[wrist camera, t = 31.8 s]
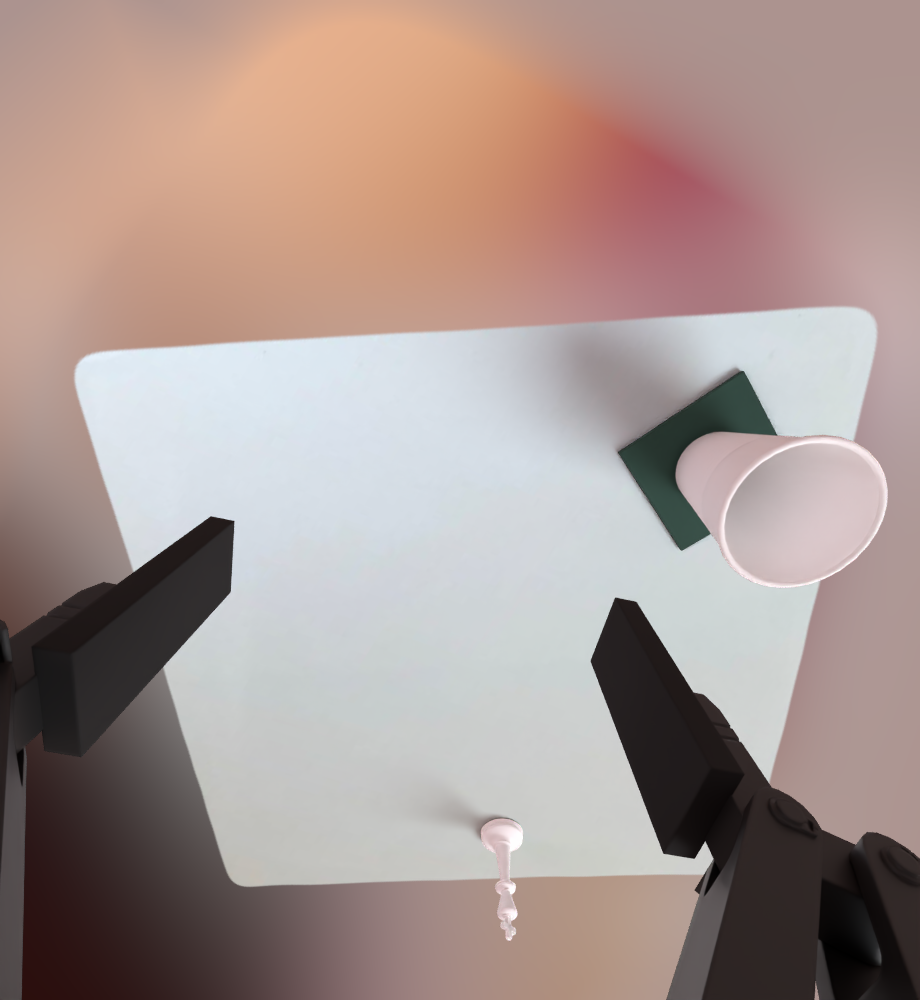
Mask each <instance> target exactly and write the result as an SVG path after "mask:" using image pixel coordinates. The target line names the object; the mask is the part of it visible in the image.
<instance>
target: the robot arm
mask: <svg viewBox="0 0 920 1000" xmlns="http://www.w3.org/2000/svg"><path fill="white" fill-rule="evenodd" d="M233 538H234V521H231V520H226V519H221V518H216V517H212V516H211V517H209V518H208V519H207V520H205V521H204V522H202V523H201V524H200V525H198V526H197V527H196V528H194V529H193V530H191V531H190V532H189V533H187V534H186V535H184V536H183V537H182V538H180V539H179V540H178V541H176V542H175V543H173V544H172V545H171V546H169V547H168V548H167V549H165V550H164V551H162V552H161V553H160V554H158V555H157V556H155V557H154V558H153V559H151V560H150V561H149V562H147V563H146V564H144V565H143V566H142V567H140V568H139V569H138V570H136V571H135V572H133V573H132V574H131V575H129V576H128V577H127V578H125V579H124V580H123V581H121V582H120V583H118V584H117V585H116V584H111V583H105V582H103V583H100V584H97V585H95V586H92V587H90V588H87V589H84V590H82V591H80V592H78V593H77V594H75V595H74V596H72V597H71V598H69V599H68V600H66V601H65V602H63V603H62V605H61V606H57V607H56V608H54V609H53V610H51V611H50V612H48V614H47V616H42V617H41V618H39V619H38V620H36V621H35V622H33V623H32V624H31V625H29V626H27V627H26V628H25V629H23V630H22V631H20V632H19V633H17V634H16V635H14V636H13V637H11V638H10V639H9V633H8V628H7V626H6V623H5V622H3V621H2V620H0V1000H21V993H22V992H21V991H22V945H23V943H22V942H23V897H24V850H25V803H26V750H25V746H26V745H27V744H28V743H29V742H30V741H31V740H32V739H33V738H35V737H36V736H37V735H38V734H39V733H40V732H41V731H42V736H43V743H44V750H45V751H47V752H53V753H60V754H65V755H72V756H78V757H82V756H83V755H84V754H85V753H86V751H87V750H88V749H89V748H90V747H91V746H92V745H93V744H94V743H95V742H96V740H97V739H98V738H99V737H100V736H101V735H102V734H103V733H104V732H105V731H106V729H107V728H108V727H109V726H110V725H111V724H112V723H113V722H114V721H115V719H116V718H117V717H118V716H119V715H120V714H121V713H122V712H123V711H124V710H125V708H126V707H127V706H128V705H129V704H130V703H131V702H132V701H133V700H134V698H135V697H136V696H137V695H138V694H139V693H140V692H141V691H142V690H143V688H144V687H145V686H146V685H147V684H148V683H149V682H150V681H151V679H152V678H153V677H154V676H155V675H156V674H157V673H158V672H159V671H160V670H161V669H162V667H163V666H164V665H165V664H166V663H167V662H168V661H169V660H170V659H171V658H172V656H173V655H174V654H175V653H176V652H177V651H178V650H179V649H180V648H181V646H182V645H183V644H184V643H185V642H186V641H187V640H188V639H189V638H190V637H191V635H192V634H193V633H194V632H195V631H196V630H197V629H198V628H199V627H200V625H201V624H202V623H203V622H204V621H205V620H206V619H207V618H208V617H209V615H210V614H211V613H212V612H213V611H214V610H215V609H216V608H217V607H218V606H219V604H220V603H221V602H222V601H223V600H224V599H225V598H226V597H227V596H228V594H229V593H230V592H231V576H232V557H233ZM591 663H592V666H593V669H594V671H595V674H596V677H597V679H598V682H599V685H600V687H601V690H602V692H603V695H604V698H605V700H606V703H607V706H608V708H609V711H610V714H611V716H612V719H613V722H614V724H615V727H616V730H617V732H618V735H619V737H620V740H621V743H622V745H623V748H624V751H625V753H626V756H627V759H628V761H629V764H630V767H631V769H632V772H633V775H634V777H635V780H636V782H637V785H638V788H639V790H640V793H641V796H642V798H643V801H644V804H645V806H646V809H647V812H648V814H649V817H650V819H651V822H652V825H653V827H654V830H655V833H656V835H657V838H658V841H659V843H660V846H661V849H662V851H663V854H669V855H675V856H681V857H687V858H693V859H695V857H696V856H697V854H698V852H699V851H700V849H701V847H702V846H703V844H704V842H705V841H706V843H707V845H708V848H709V850H710V852H711V854H712V856H713V858H714V859H713V861H712V863H711V864H710V866H709V867H708V869H707V871H706V872H705V874H704V876H703V877H702V879H701V881H700V882H699V884H698V885H697V887H696V889H695V891H696V892H697V893H698V894H700V895H699V898H698V901H697V904H696V907H695V910H694V914H693V917H692V920H691V923H690V926H689V929H688V933H687V936H686V939H685V942H684V945H683V949H682V952H681V955H680V958H679V961H678V964H677V967H676V970H675V974H674V977H673V980H672V983H671V986H670V989H669V993H668V996H667V999H666V1000H814V998H815V981H816V985H817V989H818V995H819V1000H920V858H918V857H917V856H916V855H915V854H914V853H912V852H911V851H910V850H909V849H907V848H906V847H904V846H903V845H901V844H899V843H898V842H896V841H894V840H893V839H891V838H889V837H886V836H884V835H881V834H879V833H873V832H867V833H866V834H865V835H863V836H862V838H861V839H860V840H859V842H858V843H857V844H856V845H855V844H852V843H850V842H848V841H845V840H843V839H841V838H839V837H837V836H834V835H832V834H830V833H828V832H826V831H823V830H822V829H821V828H820V826H819V824H818V823H817V821H816V820H815V818H814V817H813V816H812V815H811V814H810V813H809V812H808V811H807V809H805V807H804V806H803V805H801V804H800V803H799V802H797V801H796V800H795V799H793V798H792V797H790V796H789V795H787V794H785V793H783V792H781V791H779V790H777V789H774V788H772V787H771V786H770V784H769V783H768V781H767V780H766V778H765V777H764V775H763V774H762V772H761V771H760V769H759V768H758V766H757V765H756V763H755V762H754V760H753V759H752V757H751V756H750V754H749V753H748V751H747V750H746V748H745V747H744V745H743V744H742V742H739V738H738V736H737V735H736V733H735V732H734V730H733V729H731V728H730V725H729V723H728V722H727V720H726V719H725V717H724V716H723V714H722V713H721V711H720V710H719V709H718V708H717V707H716V706H715V705H714V704H713V703H712V702H711V701H710V700H709V699H708V698H707V697H706V696H705V695H703V694H698V693H693V691H692V690H691V688H690V686H689V685H688V683H687V682H686V680H685V678H684V677H683V675H682V674H681V672H680V671H679V669H678V667H677V666H676V664H675V663H674V661H673V659H672V658H671V656H670V655H669V653H668V651H667V650H666V648H665V647H664V645H663V644H662V642H661V640H660V639H659V637H658V636H657V634H656V632H655V631H654V629H653V628H652V626H651V624H650V623H649V621H648V620H647V618H646V617H645V615H644V613H643V612H642V610H641V609H640V607H639V605H638V604H637V602H635V601H630V600H625V599H620V598H615V599H614V602H613V605H612V607H611V610H610V612H609V615H608V617H607V620H606V623H605V625H604V628H603V630H602V633H601V635H600V638H599V641H598V643H597V646H596V648H595V651H594V653H593V656H592V659H591Z"/></svg>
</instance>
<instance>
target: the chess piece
mask: <svg viewBox="0 0 920 1000" xmlns="http://www.w3.org/2000/svg"><path fill="white" fill-rule="evenodd" d="M481 839H482V843H483V845H484V846H485V847H486V848H487V849H488V850H490V851H492V852H495V853H496V856H497V861H498V867H499V874H500V881H499V882H497V883H496V886H495V888H496V891H497V893H499V894H500V895H501V897H500V903H499V906H498V911H497V915H498V917H499V918H500V919H501V920H503V922H501V929H503V930H505V933H506V939H507V940H508V941H510V940H512V935H513V936H514V935H515V934H516V928H514V927H513V926H511V920H514V919H515V918H516V917H517V910H516V907H515V905H514V902H513V898H512V896H511V894H513V893H514V891H515V888H516V886H515V884H514V883H513V882H512V881H510V852H512V851H515V850H516V849H518V848H519V847H520V845H521V844H522V841H523V830H522V828H521V826H520V825H519V824H518V823H516V822H515V821H513V820H510V819H503V818H501V819H494V820H491V821H489V822H488V823H486V824H485V825H484V826H483V827H482V829H481Z"/></svg>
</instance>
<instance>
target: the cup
mask: <svg viewBox="0 0 920 1000" xmlns="http://www.w3.org/2000/svg"><path fill="white" fill-rule="evenodd" d="M676 482H677V485H678V488H679V489H680V491H681V493H682V494H683V495H684V497H685V498H686V500H687V501H688V502H689V504H690V505H691V506H692V508H693V509H694V510H695V512H696V513H697V515H698V516H699V518H700V519H701V520H702V522H703V523H704V524H705V526H706V527H707V528H708V530H709V531H710V533H711V534H712V536H713V537H714V539H715V540H716V541H717V543H718V544H719V547H720V550H721V552H722V555H723V556H724V558H725V560H726V561H727V563H728V564H729V566H730V567H732V568H733V569H734V570H735V571H736V572H737V573H738V574H739V575H741V576H743V577H744V578H746V579H748V580H749V581H751V582H754V583H757V584H760V585H764V586H769V587H778V588H786V587H798V586H802V585H807V584H811V583H814V582H817V581H819V580H822V579H825V578H827V577H829V576H831V575H833V574H834V573H836V572H838V571H839V570H842V569H843V568H844V567H845V566H847V565H848V564H849V563H851V562H852V561H853V560H855V559H856V558H857V557H858V556H859V555H860V553H862V551H863V550H864V549H865V548H866V547H867V546H868V545H869V543H870V542H871V540H872V539H873V537H874V536H875V535H876V533H877V531H878V529H879V527H880V525H881V523H882V521H883V518H884V514H885V510H886V506H887V492H888V489H887V484H886V479H885V475H884V472H883V470H882V469H881V466H880V464H879V462H878V461H877V460H876V459H875V458H874V457H873V456H872V454H871V453H870V452H869V451H868V450H866V449H864V448H863V447H862V446H860V445H859V444H857V443H856V442H853V441H850V440H847V439H845V438H842V437H836V436H828V435H816V436H805V437H792V436H776V435H774V436H773V435H761V434H760V435H759V434H746V433H734V432H713V433H709V434H706V435H704V436H702V437H699V438H698V439H696V440H695V441H693V442H692V443H691V444H690V445H689V446H688V447H687V448H686V449H685V450H684V452H683V453H682V454H681V456H680V458H679V460H678V463H677V467H676Z"/></svg>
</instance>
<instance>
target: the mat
mask: <svg viewBox="0 0 920 1000" xmlns="http://www.w3.org/2000/svg"><path fill="white" fill-rule="evenodd" d="M713 432H734V433H746V434H759V435H760V434H761V435H773V436H774V435H776V436H777V434H776V432H775V430H774V428H773V426H772V424H771V422H770V421H769V419H768V417H767V415H766V413H765V411H764V409H763V407H762V405H761V403H760V401H759V399H758V397H757V395H756V394H755V392H754V390H753V388H752V386H751V384H750V382H749V380H748V378H747V376H746V374H745V372H744V371H741V372H739V373H738V374H736V375H734V376H733V377H731V378H730V379H728V380H727V381H725V382H724V383H722V384H721V385H719V386H718V387H716V388H715V389H713V390H712V391H710V392H709V393H707V394H706V395H704V396H703V397H701V398H700V399H698V400H697V401H695V402H694V403H692V404H691V405H689V406H687V407H686V408H684V409H683V410H681V411H680V412H678V413H677V414H675V415H674V416H672V417H671V418H669V419H668V420H666V421H665V422H663V423H662V424H660V425H659V426H657V427H656V428H654V429H653V430H651V431H650V432H648V433H647V434H645V435H644V436H642V437H640V438H639V439H637V440H636V441H634V442H633V443H631V444H630V445H628V446H627V447H625V448H624V449H622V450H621V451H619V452H618V453H619V455H620V456H621V458H622V459H623V461H624V463H625V464H626V466H627V467H628V469H629V470H630V472H631V473H632V475H633V477H634V478H635V480H636V481H637V483H638V484H639V486H640V487H641V489H642V491H643V492H644V494H645V495H646V497H647V498H648V500H649V502H650V503H651V505H652V506H653V508H654V509H655V511H656V512H657V514H658V516H659V517H660V519H661V520H662V522H663V523H664V525H665V526H666V528H667V530H668V531H669V533H670V534H671V536H672V537H673V539H674V541H675V542H676V544H677V545H678V547H679V548H680V550H684V549H686V548H687V547H689V546H691V545H692V544H694V543H696V542H698V541H699V540H701V539H703V538H704V537H706V536H708V535H709V534H711V533H710V531H709V530H708V528H707V527H706V526H705V524H704V523H703V522H702V520H701V519H700V518H699V516H698V515H697V513H696V512H695V510H694V509H693V508H692V506H691V505H690V504H689V502H688V501H687V500H686V498H685V497H684V495H683V494H682V493H681V491H680V489H679V488H678V485H677V482H676V467H677V463H678V460H679V458H680V456H681V454H682V453H683V452H684V450H685V449H686V448H687V447H688V446H689V445H690V444H691V443H692V442H693V441H695V440H696V439H698V438H699V437H702V436H704V435H706V434H709V433H713Z"/></svg>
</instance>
